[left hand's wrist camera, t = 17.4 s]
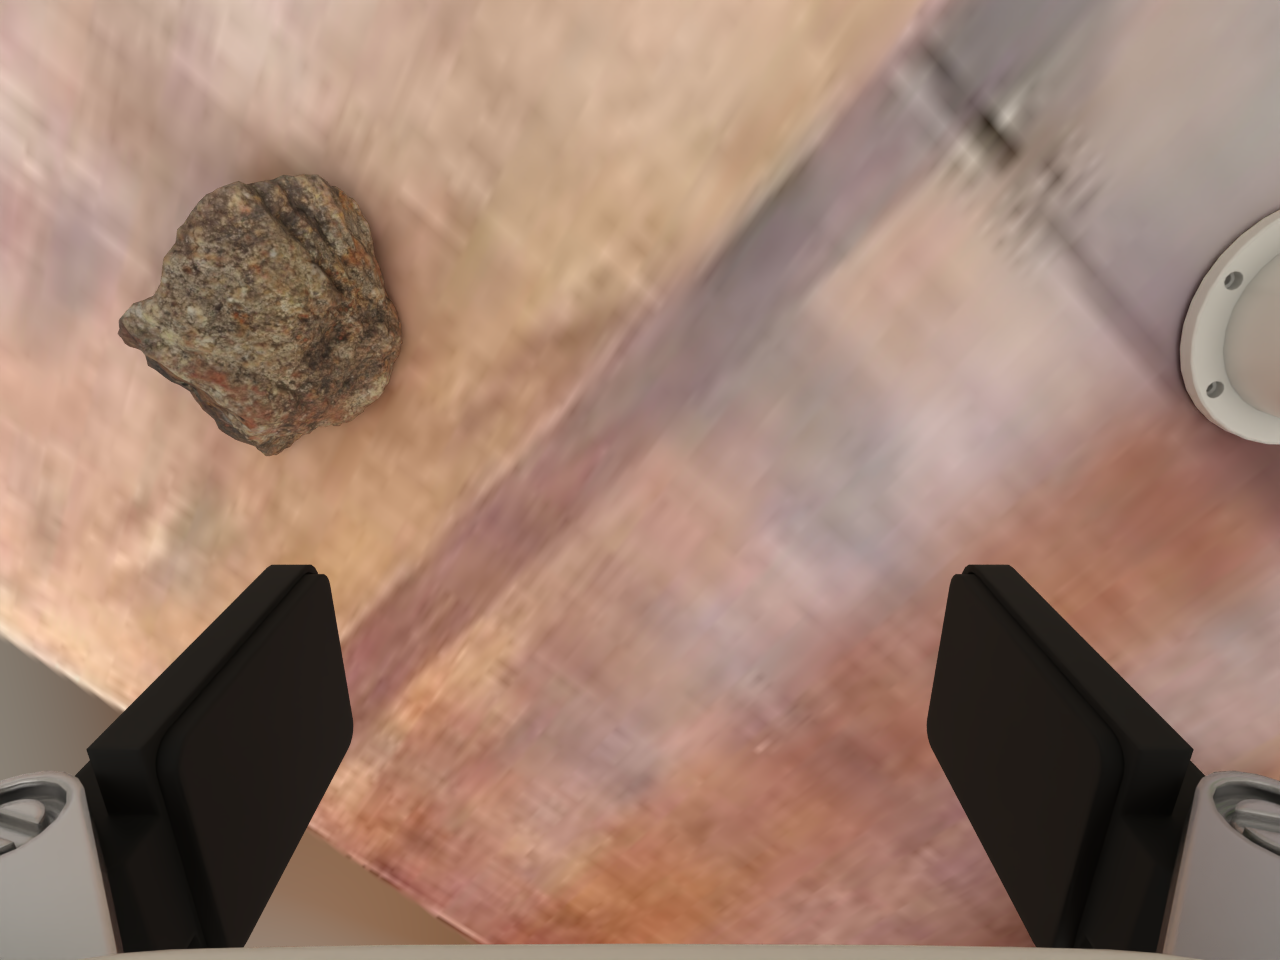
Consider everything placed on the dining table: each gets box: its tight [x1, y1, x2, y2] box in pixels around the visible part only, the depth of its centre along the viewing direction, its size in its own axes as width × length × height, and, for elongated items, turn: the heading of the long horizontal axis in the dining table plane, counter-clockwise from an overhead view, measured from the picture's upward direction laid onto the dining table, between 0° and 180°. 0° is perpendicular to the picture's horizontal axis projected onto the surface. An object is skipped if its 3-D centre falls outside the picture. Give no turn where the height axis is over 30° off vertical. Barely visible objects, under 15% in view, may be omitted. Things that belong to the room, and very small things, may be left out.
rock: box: [118, 174, 402, 456], centre depth 35 cm, size 14×9×10 cm
